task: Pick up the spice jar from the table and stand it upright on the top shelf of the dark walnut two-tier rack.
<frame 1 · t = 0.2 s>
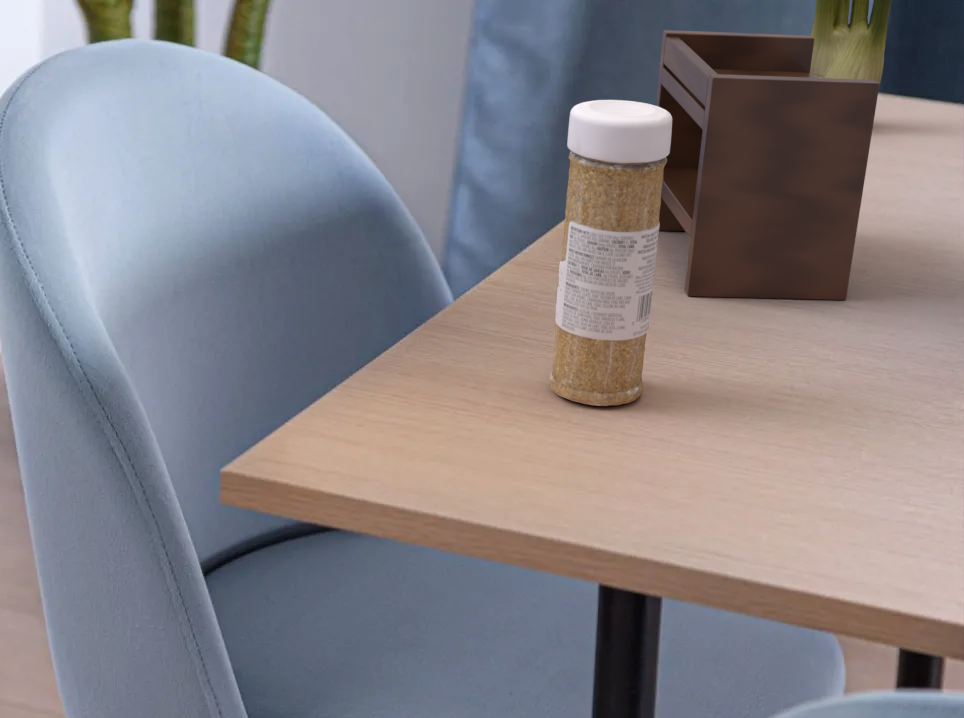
fennel bulb: (831, 129, 139), on the table
spice jar: (594, 396, 84), on the table
rack: (738, 261, 104), on the table
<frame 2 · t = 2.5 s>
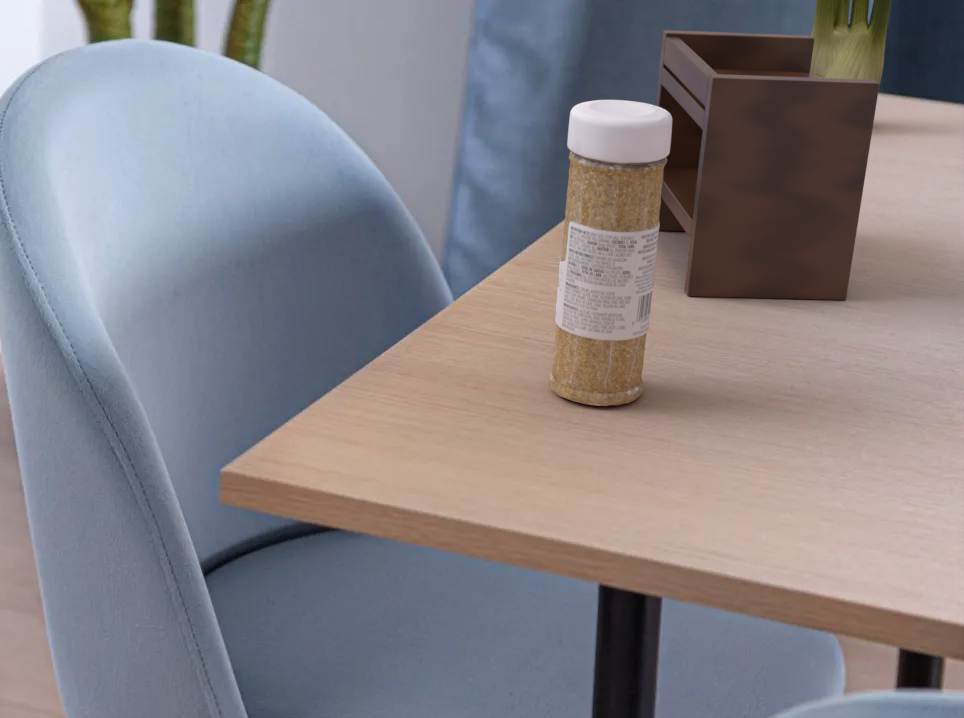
nothing on the table moved.
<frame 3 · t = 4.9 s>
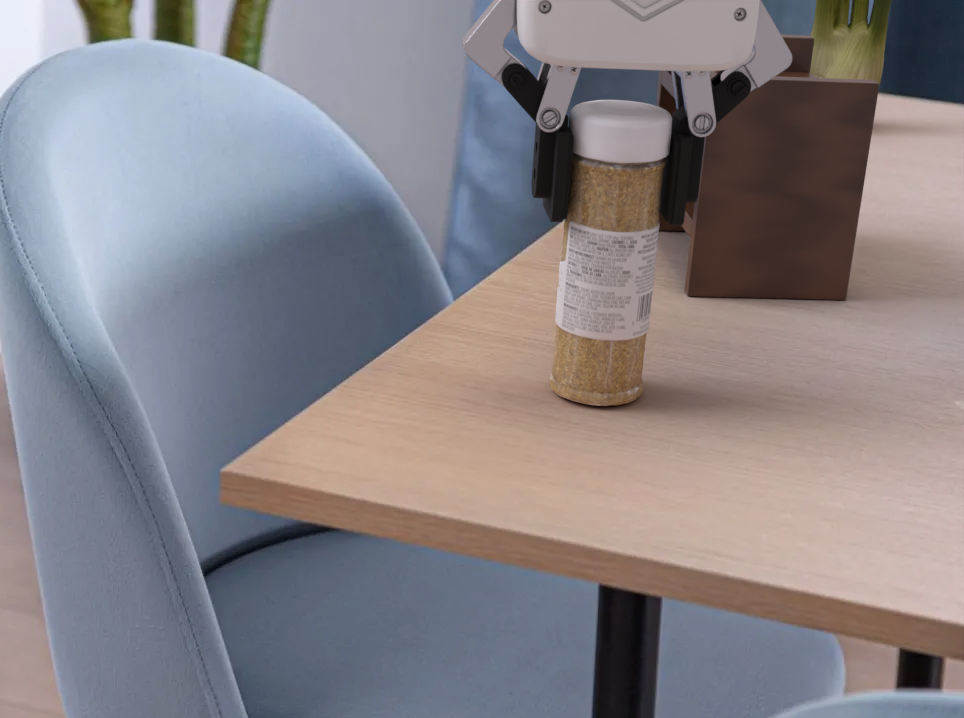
hand: (612, 211, 80), 9 cm above the table, tool pointing down, fingers closed on spice jar, 4 cm apart
spice jar: (594, 396, 84), on the table, touching gripper
everything else where it was.
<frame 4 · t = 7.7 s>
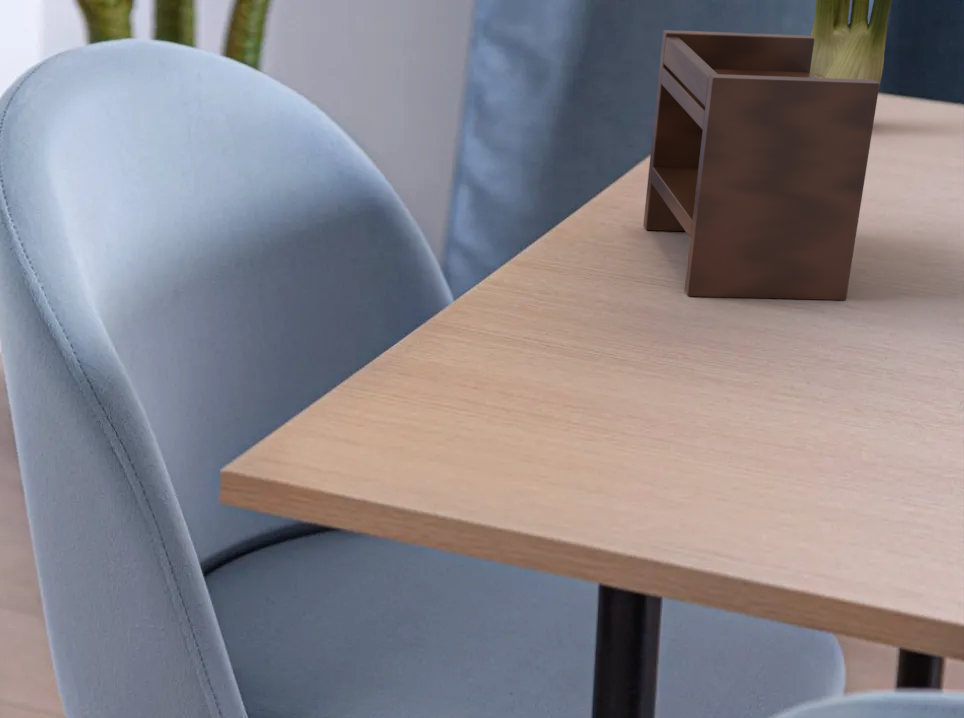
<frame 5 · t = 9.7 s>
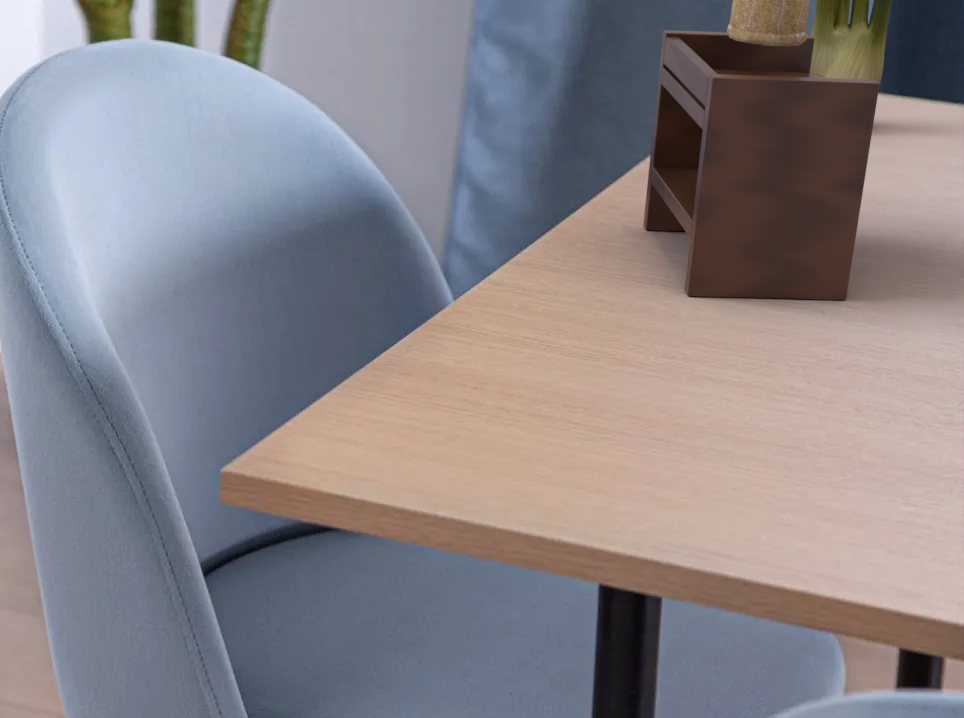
spice jar: (765, 45, 99), point 13 cm above the table, touching gripper
everything else where it was.
when the fingers open (19 cm above the table, at t = 10.8 s): spice jar stays where it is, resting on rack.
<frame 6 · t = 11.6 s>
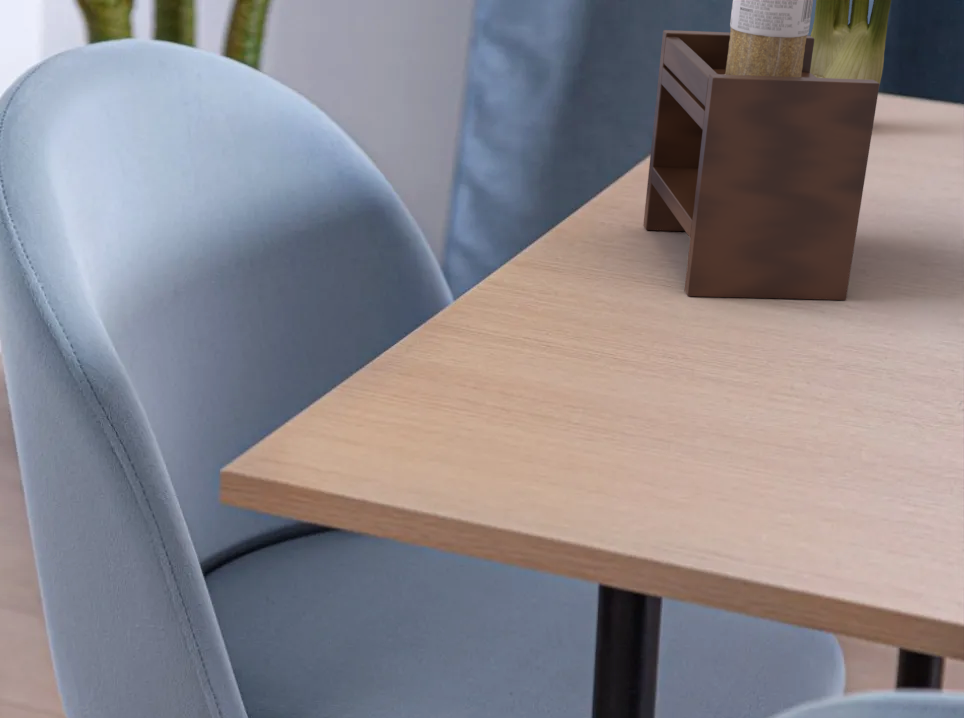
spice jar: (761, 94, 100), point 10 cm above the table, touching rack
everything else where it was.
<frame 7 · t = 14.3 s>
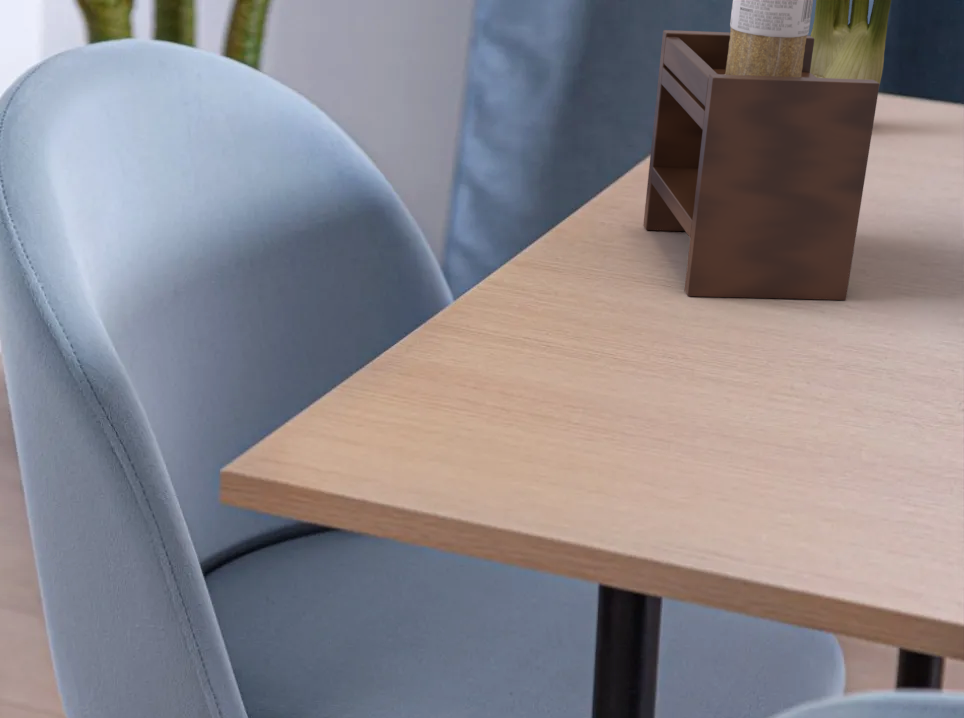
nothing on the table moved.
at the end: spice jar inside the target area on the rack (0.1 cm from its centre), point 9.8 cm above the rack's base; spice jar tilted 0°; the gripper is holding nothing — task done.
